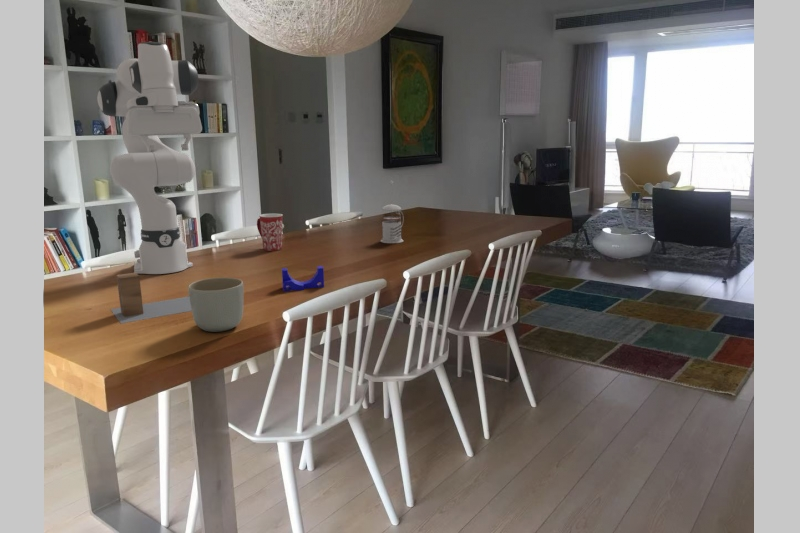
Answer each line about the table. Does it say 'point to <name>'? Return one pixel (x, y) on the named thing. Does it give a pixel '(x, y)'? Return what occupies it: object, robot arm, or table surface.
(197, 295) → the planter
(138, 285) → the walnut block
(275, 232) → the mug
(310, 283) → the blue cradle bracket
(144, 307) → the mat
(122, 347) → the table surface
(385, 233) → the french press
